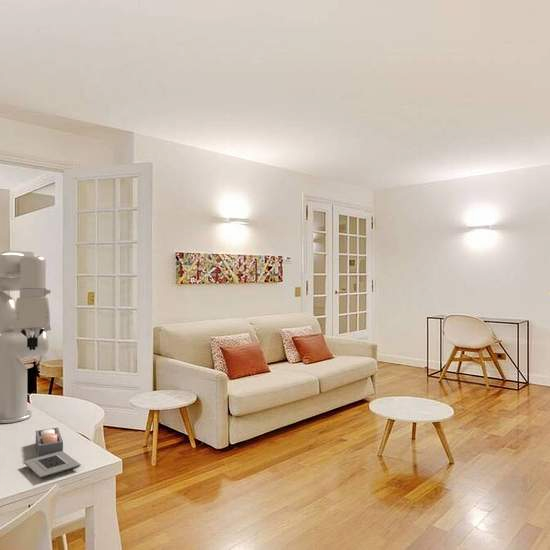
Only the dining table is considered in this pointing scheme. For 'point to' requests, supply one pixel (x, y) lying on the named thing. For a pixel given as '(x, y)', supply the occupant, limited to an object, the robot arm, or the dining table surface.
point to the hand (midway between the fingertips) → (32, 349)
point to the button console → (48, 444)
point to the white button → (47, 432)
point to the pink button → (49, 438)
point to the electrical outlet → (52, 464)
